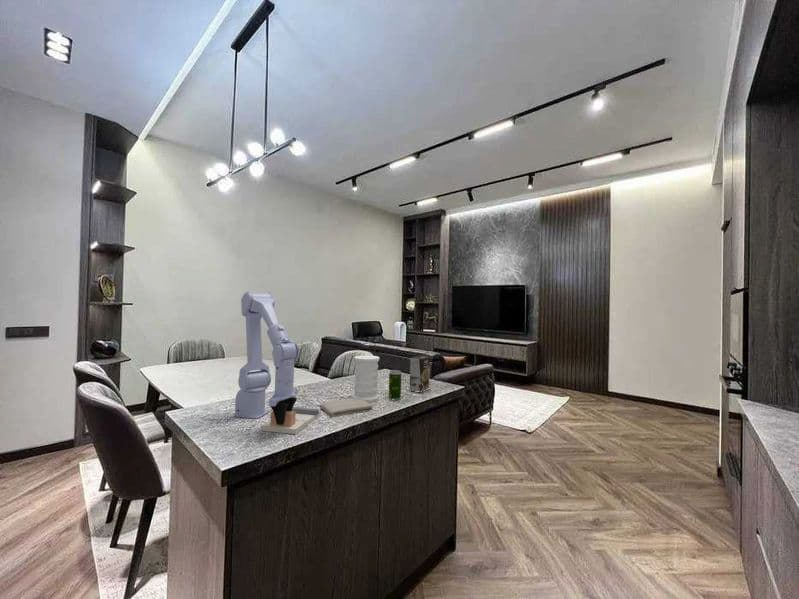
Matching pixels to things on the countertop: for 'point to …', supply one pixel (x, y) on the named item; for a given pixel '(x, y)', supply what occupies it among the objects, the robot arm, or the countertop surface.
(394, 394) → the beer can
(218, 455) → the countertop surface
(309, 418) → the ticket board
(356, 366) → the decorative container
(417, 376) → the coffee box
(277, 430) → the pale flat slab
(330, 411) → the washcloth
